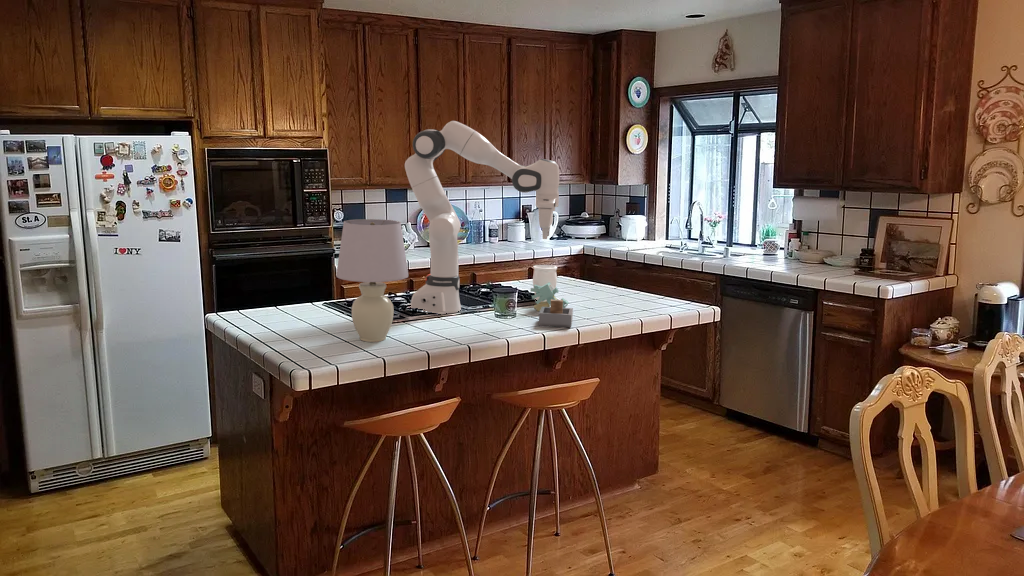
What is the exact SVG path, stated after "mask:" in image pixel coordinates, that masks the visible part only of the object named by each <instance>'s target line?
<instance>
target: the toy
mask: <svg viewBox="0 0 1024 576" xmlns="http://www.w3.org/2000/svg"><path fill="white" fill-rule="evenodd" d="M530 292H531V293H534V292H536V295H535V294H534V295H531V299H532V300H535V298H537V297H539V296H540V298H539V299H538V300H537V301H536V300H535V304H534V305H533V309H534V310H536V312H540V310H541V308H542V307H551V299H552V300H559V299H558V298H557V297H556V296H555V294H558V293H559V292H560V290H559V289H558V287H557V286H556V288H555V289H553V287H552V285H551V284H550V282H549V283H547V284H545V285H543V286H538V285H534V287H531V288H530ZM544 300H547V301H545V302H541V301H544ZM560 300H563V308H567V307H568V305H569V304H570V302H569V301H568V300H567V299H566V298H564V297H562V298H560Z"/></svg>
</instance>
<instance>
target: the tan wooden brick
mask: <svg viewBox="0 0 1024 576" xmlns="http://www.w3.org/2000/svg"><path fill="white" fill-rule="evenodd" d="M550 307H551V308H550V313H557V314H563V300H561V299H558V300H552V299H551V305H550Z"/></svg>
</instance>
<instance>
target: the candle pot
mask: <svg viewBox="0 0 1024 576" xmlns="http://www.w3.org/2000/svg"><path fill="white" fill-rule="evenodd" d="M550 308H551V306H550V307H542V308H541V310H540V311H539V314H538V327H542V326H556V327H555V328H560V327H571V328H572V325H573V316H574V314H573V313H574V308H572V307H566V308H563V314H557V313H550Z"/></svg>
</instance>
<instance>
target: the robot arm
mask: <svg viewBox="0 0 1024 576" xmlns="http://www.w3.org/2000/svg"><path fill="white" fill-rule="evenodd" d="M412 148H413V151H414V154H412V155H410V156H409V157H407V159H406V160H405V163H404V169H405V172H406V176H407V179H408V182H409V185H410V187H411V189H412V192H413V194H414V196H415V198H416V200H417V203H418V204H419V206H420V208H421V210H422V211H423V213H424V215H425V216H426V218H427V219H428V221H429V226H428V235H429V249H430V250H429V251H430V273H429V274H427V275H426V276H425V278H424V279H425V284H424V285H423V286H421V287H420V288H418V290H416V291H415V292H413V294H412V296H411V301H410V303H409V304H408V305H411V306H410V307H411V308H418V309H423V311H428V312H432V313H438V314H441V315H445V314H446V313H447V314H453V313H454V314H455V313H459V312H461V311H462V310H461V308H462V305H461V301H460V300H461V299H460V291H459V289H460V284H461V282H460V280H461V279H460V275H459V246H458V245H459V244H458V243H459V242H458V234H459V232H460V230H461V220H460V218H459V217H458V215H457V213H456V210H455V209H454V207H453V205H452V204H451V202H450V200H449V198H448V196H447V194H446V192H445V190H444V188H443V186H442V183H441V181H440V178H439V176H438V175H437V172H436V170H435V168H434V162H435V161H436V160H437V159H438V158H439V157H440V156H442V155H443V153H445V151H446V150H451V151H453V152H454V153H456V154H457V155H459V156H460V157H462V158H464V159H465V160H467V161H469V162H471V163H475V164H478V165H479V164H480V165H486V166H488V167H491V168H494V169H495V170H497V171H499V172H501V173H502V174H503V175H505V176H507V177H509V179H511V183H512V186H513V188H514V189H515V190H516V191H518V192H519V193H526V194H527V193H531V192H535V207H536V208H537V209H538V224H539V228H540V229H541V230H542V231H541V232H542V239H543V240H547V239H548V237H549V236H550V229H551V226H552V225H553V221H554V220H553V219H554V212H555V211H556V208H557V207H559V202H560V201H559V199H560V197H559V195H560V192H559V186H560V166H559V165H558V163H557V162H556V161H554V160H550V159H547V158H546V159H545V158H544V159H543V158H540V159H538V160H537V161H535V162H534V163H532V164H529V165H522V164H519V163H517V162H515V161H514V160H512V159H511V158H510V157H507V155H504V154H503V153H502V152H500V151H499V150H498V149H497V148H496V147H495V146H494V145H493V144H492V142H490V141H489V140H488V139H487V138H486V137H485V136H483V135H482V134H481V133H479V132H478V131H476V129H473V128H471V127H470V126H468V125H467V124H463V123H462V122H459V121H456V120H451V121H449V122H447V123H446V124H445V125H444V126H443V128H442V129H441V130H437V129H432V128H430V129H429V128H428V129H425V130H421V131H420V132H418V133H416V135H415V136H414V138H413V140H412ZM424 309H425V310H424ZM460 310H461V311H460ZM458 311H459V312H458ZM438 314H437V315H438Z"/></svg>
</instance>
